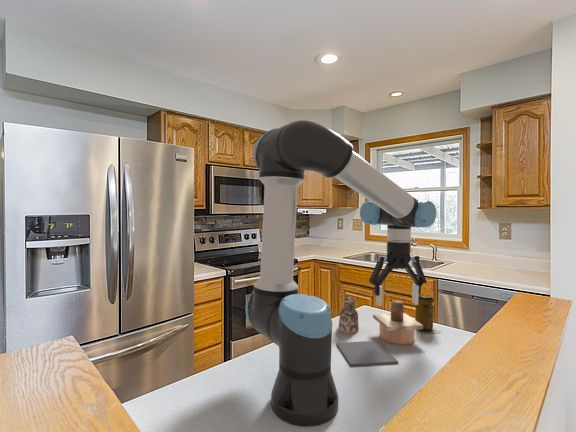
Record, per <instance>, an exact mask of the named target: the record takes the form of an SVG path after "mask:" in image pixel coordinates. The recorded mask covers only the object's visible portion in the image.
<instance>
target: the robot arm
mask: <svg viewBox="0 0 576 432" xmlns="http://www.w3.org/2000/svg"><path fill="white" fill-rule="evenodd" d="M252 156H253V162H254V164H255V166H256V168H257V169H258V170H259V171H258V172H259V174H258V175H259V176H258V179H259V181H260V182H261V183H262V184H263V186H264V195H263V213H262V230H261V231H262V234H261V251H260V252H261V253H260V271H259V273H260V275H259V278H258V279H257V280H256V281H255V282H254V283H253V291H252V292H251V294H249V295H248V298H247V299H246V303H245V309H244V311H245V316H246V319H247V322H248V323H249V325H251V327H252V328H253V329H254V330H255V331H256V332H257V333H258V334H260V335H262V336H264V337H265V338H266V339H268V340H269V341H271V342H272V343H273V344H275V345H276V346H277V347H278V349H279V350H278V356H279V357H278V358H279V359H278V363H279V364H278V365H279V366H278V371H277V374H276V378H275V380H274V382H273V383H274V384H273V385H272V390H271V394H270V405H271V406H270V407H271V410H272V412H273V413H274V414H275V415H276V416H277V417H278V418H279V419H281V420H282V421H285V422H286V423H288V424H292V425H297V426H302V427H303V426H305V427H307V426H309V427H310V426H317V425H321V424H324V423H327V422H328V421H330V420H331V419H333V418H334V417H335V416H336V414H337V413H338V410H339V393H338V391H337V386H336V383H335V381H334V380H335V379H334V378H333V377H334V376H333V374H332V342H333V341H332V340H333V338H332V336H333V335H332V334H333V320H332V309H331V308H330V306H329V304H328V303H327V302H326V301H325V300H324V299H321V298H319V297H317V296H315V295H308V294H304V293H299V285H298V284H297V282H296V281H295V280H294V264H295V263H294V262H295V247H296V246H295V245H296V243H295V242H296V228H297V227H296V223H297V205H298V188H299V187H300V186H301V185H302V184H303V183H304V181H305V172H306V171H311V172H314V173H318V174H321V175H323V176H324V177H325V178H327V179H333V178H334V179H337V180H338V181H340V182H341V183H343V184H344V185H345V186H347V187H349V188H350V189H351V190H353V191H354V192H356V193H358V194H359V195H361V196H362V197H363V198H365V199H366V200H367V201H364V202H363V203H362V205H360V209H359V217H360V220H361V221H362V222H363V224H365V225H371V226H375V225H382V226H383V225H384V226H387V228H386V229H387V231H386V233H387V236H386V239H387V242H386V256H382V255H378V256H377V260H376V264H375V267H374V269H373V270H372V273H371V276H370V277H369V280H368V283H369V284H371V285H374V287H373V289H374V292H373V293H374V295H375V296H376V305H377V306H379V307H383V286H382V284H383V283H384V281H385V280H386V278H387V277H388V276H389V275H390V273H391V272H392V271H393V270H399V269H400V270H405V271H406V273H407V274H408V276H409V277H410V278H411V279H412V282H414V283H412V287H411V289H412V290H411V291H412V292H411V297H412V298H411V303H413V304H414V305H415V306H416V305H418V295H419V294H421V292H422V291H421V290H422V288H421V287H422V286H423V285H424V284H427V281H428V280H427V278H426V276H425V273H424V271H423V268H422V266H421V263H420V257H419V256H418V255H415V254H412V255H411V244H412V243H411V239H412V236H411V235H412V228H418V229H419V228H430V227H431V226H433V225H434V223H435V221H436V218H437V208H436V205H435V204H434V203H433V202H432V201H431V200H425V199H420V200H419V199H417V198H416V197H414V196H413V195H411V194H410V193H409V192H407V191H406V190H405V189H403V188H402V186H401V187H400V185H398V184H397V183H395V182H394V181H393V180H392V179H391V178H389V177H387V176H386V175H385V174H384V173H383V172H381V171H380V170H378V169H377V168H376V167H375V166H373V165H372V164H371V163H369V162H368V161H367V160H365V159H364V158H363V157H362V156H360V155H359V154H358V153H356V152H355V151H354V146H353V144H352V143H350V141H348V140H347V139H345V138H344V137H342V136H341V135H340V134H339V133H337V132H335V131H334V130H332V129H330V128H328V127H326V126H324V125H322V124H320V123H317V122H314V121H310V120H302V119H301V120H295V121H293V122H290V123H288V124H285V125H283V126H281V127H275V128H272V129H270V130H268V131H267V132H266V133H264V134H262V135H261V136H260V137H259V138H258V139H257V141H256V142H255V145H254V146H253V154H252ZM386 262H387V263H386ZM410 262H411V263H412V265H413V267H414V270H415V271H414V270H413V269H412V267H411V266H410V264H409V263H410ZM384 263H386V265H385V266H384ZM383 266H384V268H383ZM381 270H382V271H381Z"/></svg>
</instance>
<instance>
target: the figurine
mask: <svg viewBox="0 0 576 432" xmlns="http://www.w3.org/2000/svg"><path fill="white" fill-rule="evenodd" d="M355 303H356V301H355V299H354V298H353V297H352V296H350V295H349V294H346V297H345V298H344V300H343V305H344V306H343V308H342V309H341V310H340V312H339V319H338V330H339V331H340V332H341V333H345V334H356V333H358V332H359V314H358V311H357V310H356V309H355V308H356V305H355Z"/></svg>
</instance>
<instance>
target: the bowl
mask: <svg viewBox="0 0 576 432" xmlns="http://www.w3.org/2000/svg"><path fill="white" fill-rule="evenodd" d="M379 337H380V339H382V340H383V341H385V342H387V343H389V344H394V345H403V346H404V345H410V344H412V343H414V341H415V330H393V331H388V330H387V329H385V328H384V327H383V326H382V325H381V324H380V323H379Z"/></svg>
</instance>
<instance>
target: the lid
mask: <svg viewBox="0 0 576 432" xmlns="http://www.w3.org/2000/svg"><path fill="white" fill-rule="evenodd" d="M404 304H405V303H404V301H401V300H397V299H396V300H394V299H393V300H391V302H390V313H374V314H372V318H373V319H374V320H375V321H376V322H377V323H378V324H379V325H380V324H381V325H382V326H383V327H384V328H385V329H387V330H388V331H393V330H414V331H415V330H416V329H423V325H422V324H420V323H419V322H417V321H416V320H415V319H414V318H413V317H412V316H410V315H408V314H407V313H406V312H404V307H405V306H404Z"/></svg>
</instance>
